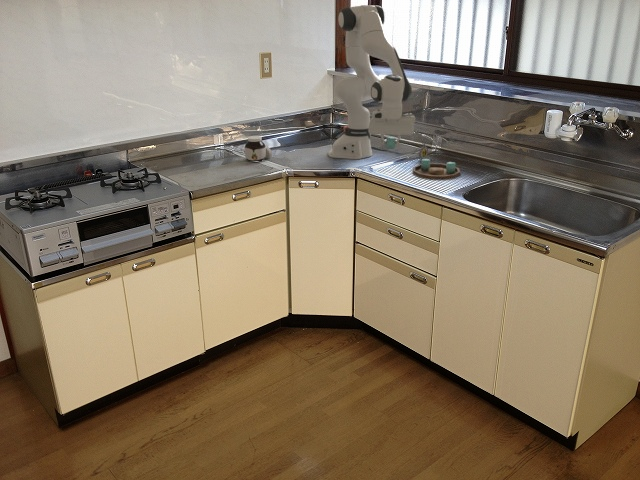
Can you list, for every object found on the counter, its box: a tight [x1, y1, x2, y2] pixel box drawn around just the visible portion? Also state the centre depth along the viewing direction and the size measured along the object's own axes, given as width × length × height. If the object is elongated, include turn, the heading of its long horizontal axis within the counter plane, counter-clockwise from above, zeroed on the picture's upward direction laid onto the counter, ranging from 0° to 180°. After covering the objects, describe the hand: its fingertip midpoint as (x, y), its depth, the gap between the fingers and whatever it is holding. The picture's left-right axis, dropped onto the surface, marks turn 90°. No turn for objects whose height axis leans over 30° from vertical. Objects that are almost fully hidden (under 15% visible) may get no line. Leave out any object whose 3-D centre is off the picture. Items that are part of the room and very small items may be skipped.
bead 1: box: [385, 136, 396, 150], centre depth 279 cm, size 4×4×4 cm
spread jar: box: [244, 135, 273, 162], centre depth 309 cm, size 12×11×12 cm
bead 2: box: [420, 158, 431, 171], centre depth 289 cm, size 4×4×4 cm
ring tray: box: [412, 162, 461, 180], centre depth 285 cm, size 21×21×2 cm
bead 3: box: [446, 161, 457, 174], centre depth 284 cm, size 4×4×4 cm
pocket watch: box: [418, 141, 436, 163], centre depth 302 cm, size 8×8×10 cm
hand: (390, 144), depth 280 cm, fingers closed on bead 1, 4 cm apart
